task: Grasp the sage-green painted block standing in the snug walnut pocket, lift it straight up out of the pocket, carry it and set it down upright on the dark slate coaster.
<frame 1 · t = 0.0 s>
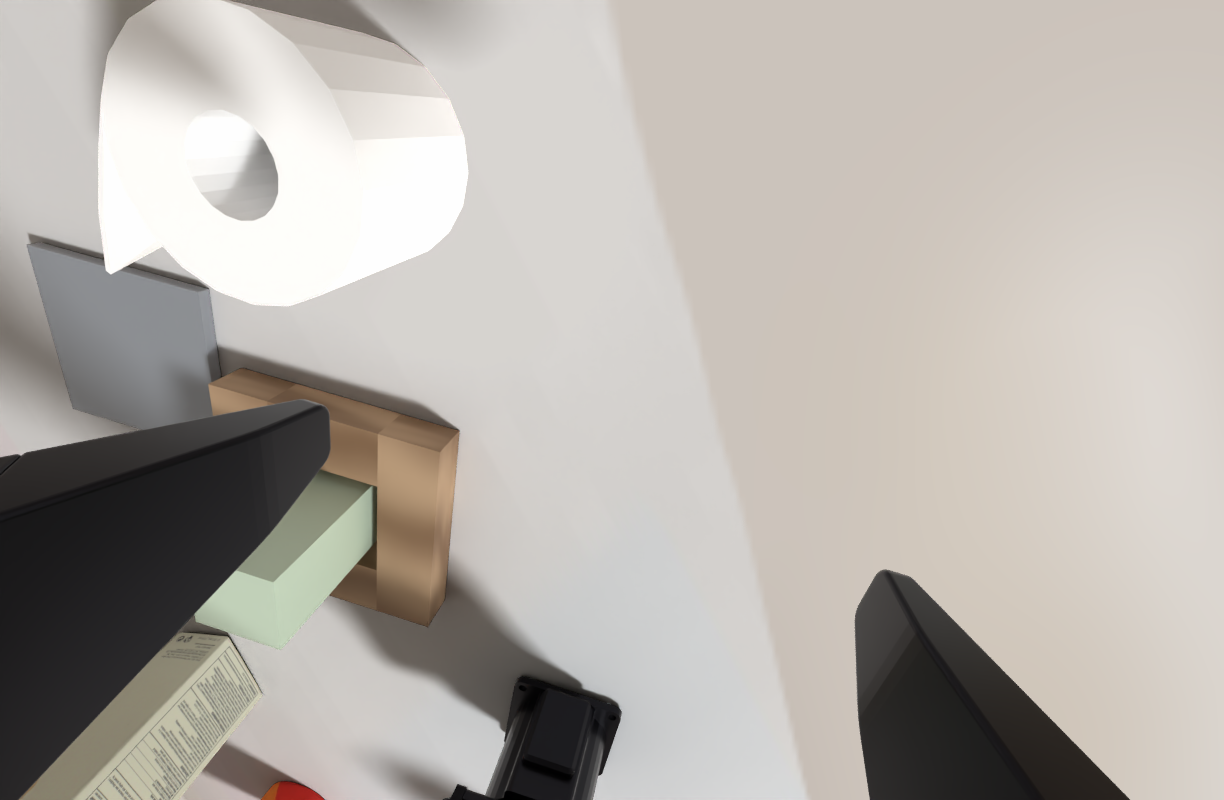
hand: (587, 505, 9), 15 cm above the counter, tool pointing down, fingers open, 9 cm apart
skincare box: (226, 662, 40), on the counter
green block: (299, 539, 27), in the pocket block
pocket block: (350, 492, 30), on the counter
paper cup: (302, 799, 47), on the counter
toilet paper: (329, 155, 23), on the counter
coaster: (141, 351, 29), on the counter
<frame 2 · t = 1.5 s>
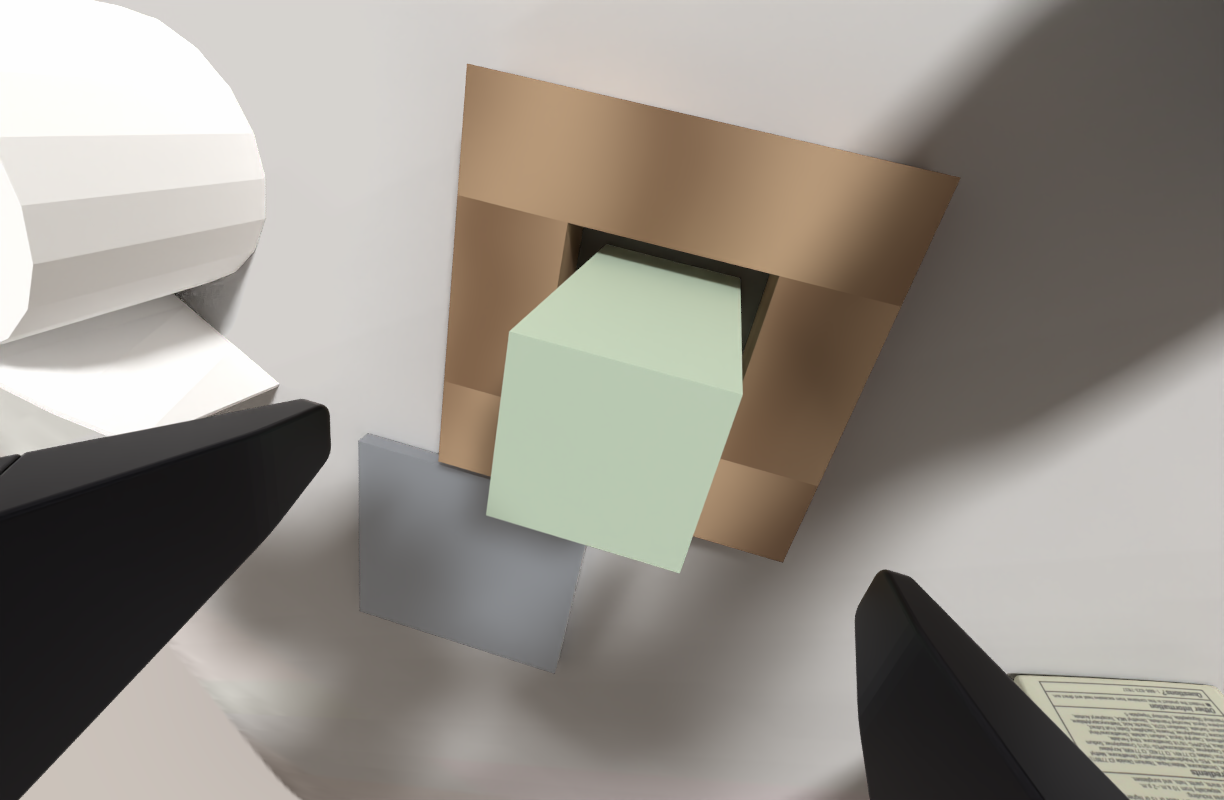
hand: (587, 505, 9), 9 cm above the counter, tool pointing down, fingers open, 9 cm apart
skincare box: (1098, 712, 21), on the counter
green block: (635, 375, 14), in the pocket block
pocket block: (656, 325, 17), on the counter
toilet paper: (178, 219, 19), on the counter
coaster: (470, 556, 23), on the counter
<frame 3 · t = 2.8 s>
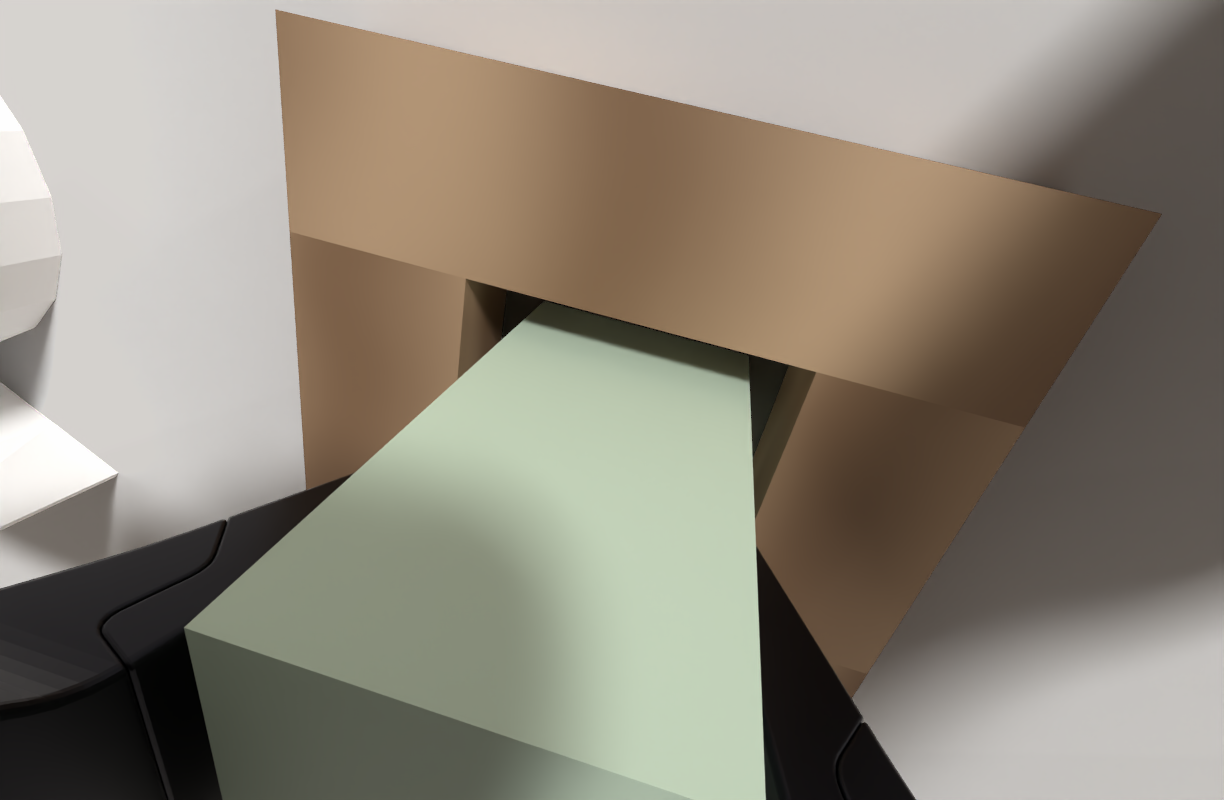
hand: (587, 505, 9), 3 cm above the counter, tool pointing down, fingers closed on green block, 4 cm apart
green block: (571, 545, 8), in the pocket block, touching gripper
pocket block: (622, 417, 12), on the counter
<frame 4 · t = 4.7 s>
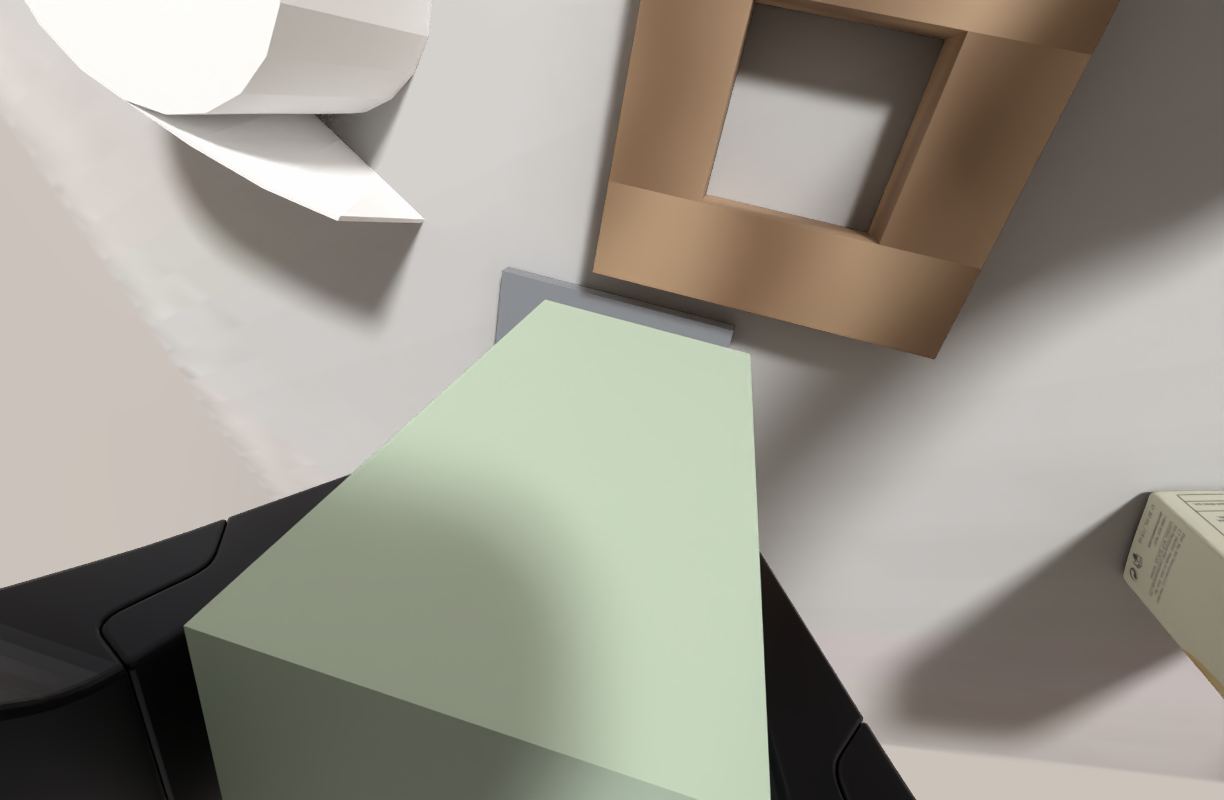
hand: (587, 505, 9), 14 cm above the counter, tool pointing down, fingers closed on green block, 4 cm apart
green block: (573, 544, 8), point 15 cm above the counter, touching gripper
pocket block: (814, 124, 18), on the counter
toilet paper: (339, 47, 20), on the counter
coaster: (598, 396, 24), on the counter
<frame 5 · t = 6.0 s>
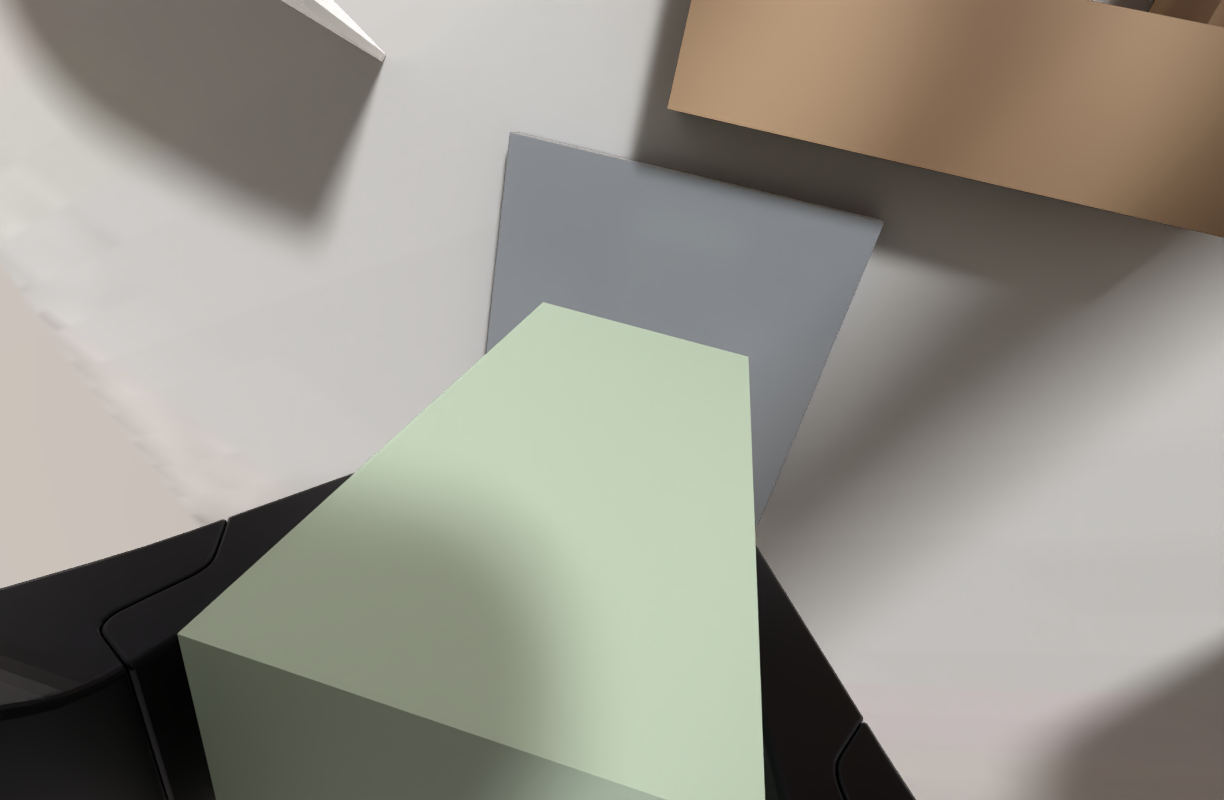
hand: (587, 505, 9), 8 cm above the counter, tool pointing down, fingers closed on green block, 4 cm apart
green block: (570, 548, 8), point 9 cm above the counter, touching gripper
coaster: (650, 342, 16), on the counter
when the fingers open (5 cm above the counter, at t = 6.8 s): green block drops 1 cm, resting on coaster.
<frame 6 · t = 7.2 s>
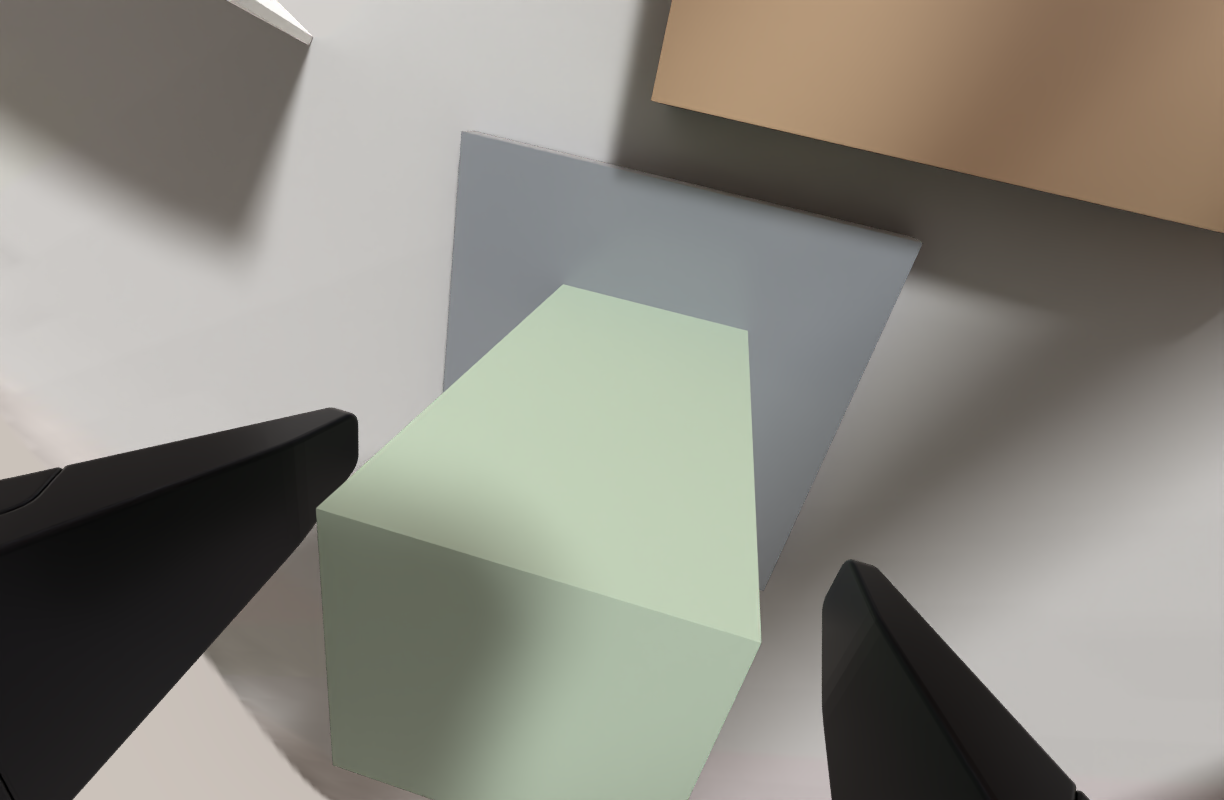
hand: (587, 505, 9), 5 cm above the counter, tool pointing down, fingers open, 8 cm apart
green block: (594, 491, 9), on the coaster, point 5 cm above the counter
coaster: (636, 381, 13), on the counter
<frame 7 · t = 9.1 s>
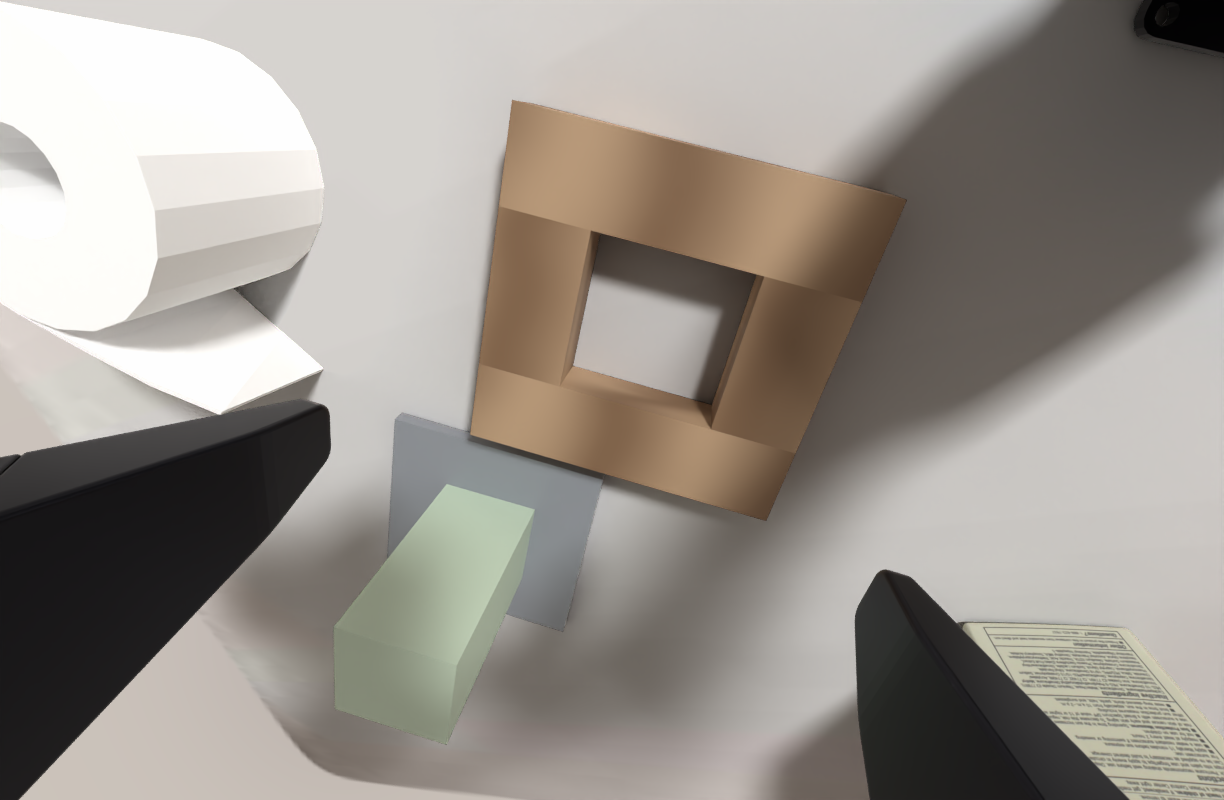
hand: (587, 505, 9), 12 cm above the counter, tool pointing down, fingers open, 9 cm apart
skincare box: (1034, 655, 24), on the counter
green block: (446, 597, 22), on the coaster, point 5 cm above the counter
pocket block: (660, 318, 20), on the counter
toilet paper: (241, 222, 22), on the counter
coaster: (489, 524, 26), on the counter
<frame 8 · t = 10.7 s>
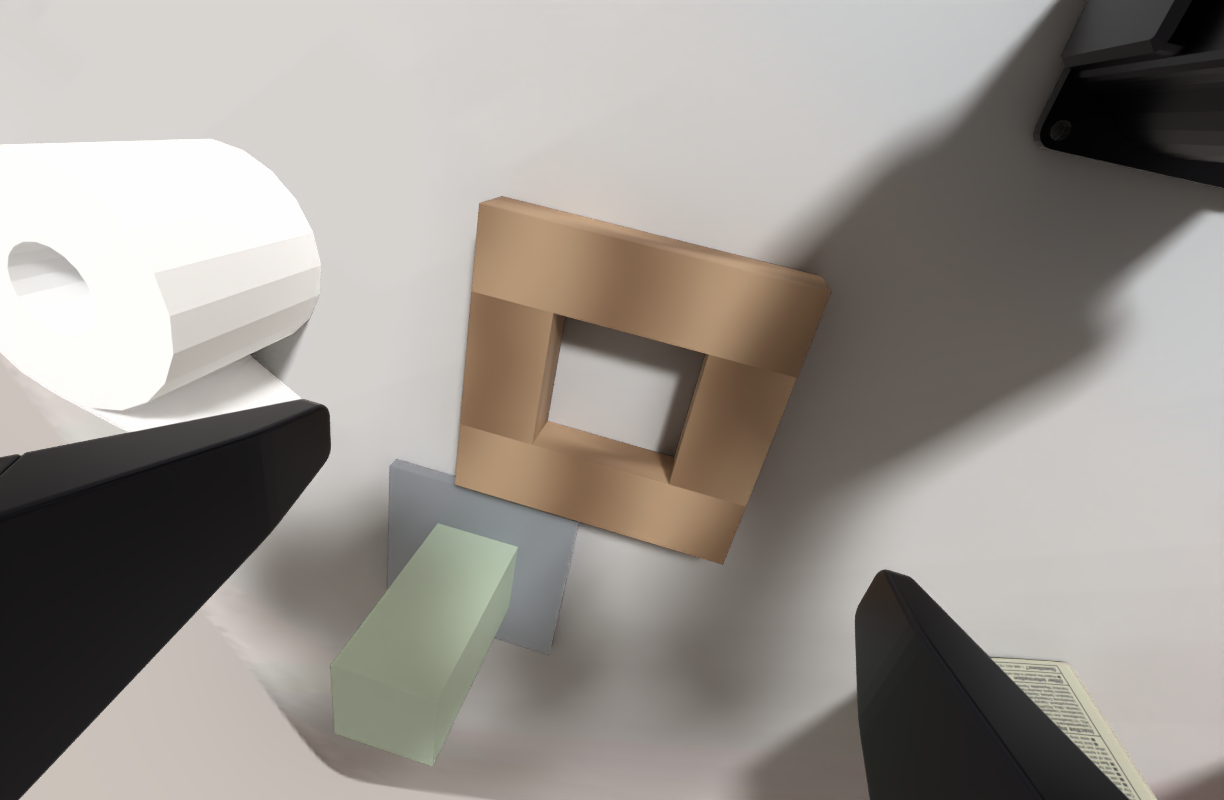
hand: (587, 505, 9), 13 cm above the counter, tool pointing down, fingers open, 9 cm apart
skincare box: (984, 685, 26), on the counter
green block: (435, 630, 24), on the coaster, point 5 cm above the counter
pocket block: (623, 381, 22), on the counter
toilet paper: (249, 292, 24), on the counter
coaster: (478, 558, 28), on the counter
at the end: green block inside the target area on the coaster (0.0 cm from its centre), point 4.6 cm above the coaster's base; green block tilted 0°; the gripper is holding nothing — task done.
